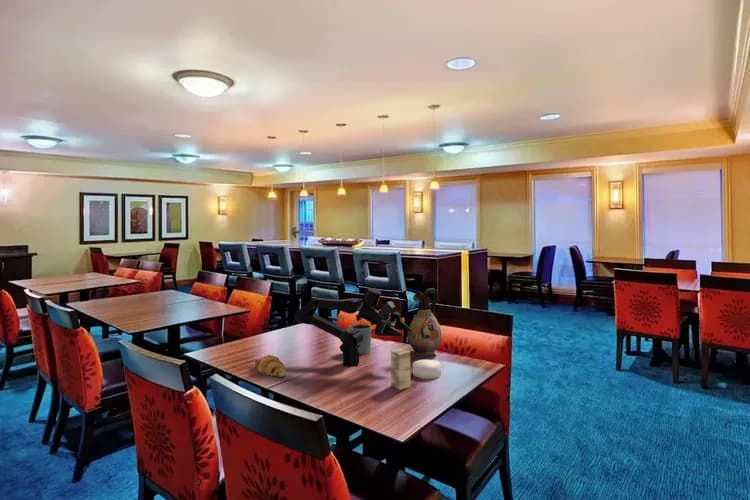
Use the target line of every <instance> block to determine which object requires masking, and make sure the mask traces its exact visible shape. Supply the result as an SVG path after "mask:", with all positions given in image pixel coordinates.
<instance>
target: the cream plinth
mask: <svg viewBox="0 0 750 500" xmlns="http://www.w3.org/2000/svg"><path fill="white" fill-rule="evenodd" d="M412 368H413V369H412V370H413V371H412V374H413V376H414V377H416V378H419V379H423V380H434V379H438V378H440V377H441V376H442V363H441V362H439V361H437V360H434V359H419V360H416V361H413V363H412Z"/></svg>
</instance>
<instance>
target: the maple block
mask: <svg viewBox="0 0 750 500" xmlns="http://www.w3.org/2000/svg"><path fill="white" fill-rule="evenodd" d="M390 384H391V385H390V387H393V388H395V389H397V390H399V391H401V390H404V389H407V388H410V387H411V351H409V350H407V349H404V348H397V349H393V350H390Z"/></svg>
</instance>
